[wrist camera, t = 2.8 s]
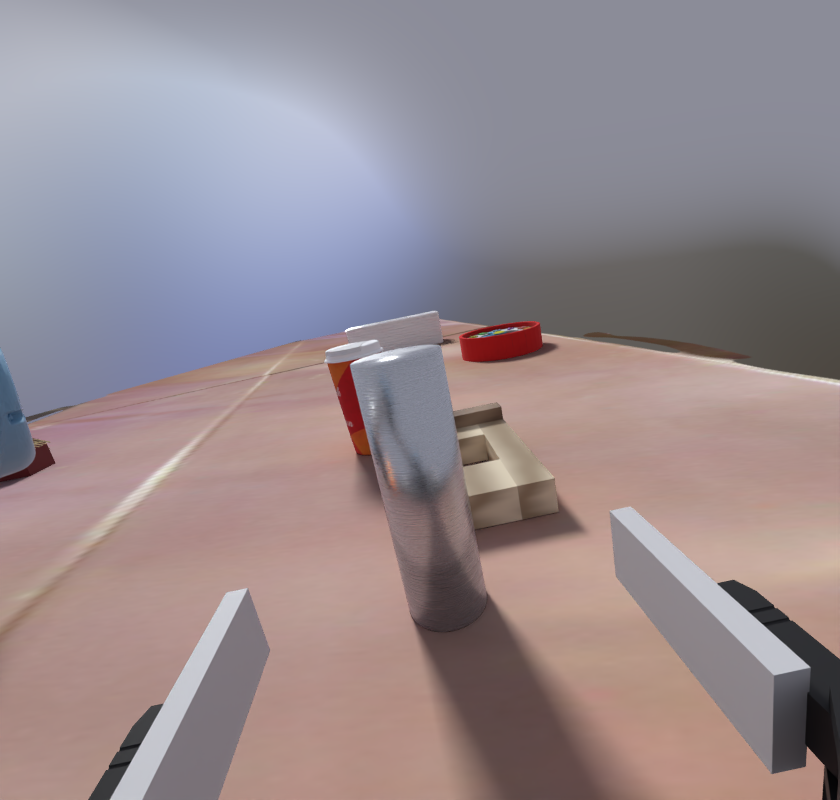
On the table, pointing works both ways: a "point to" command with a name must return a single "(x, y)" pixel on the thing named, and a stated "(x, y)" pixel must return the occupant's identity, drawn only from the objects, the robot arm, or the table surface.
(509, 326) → the toy clock
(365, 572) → the table surface
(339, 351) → the paper cup
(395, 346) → the stack of papers
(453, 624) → the brushed metal cylinder
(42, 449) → the toy houses
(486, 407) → the frame
